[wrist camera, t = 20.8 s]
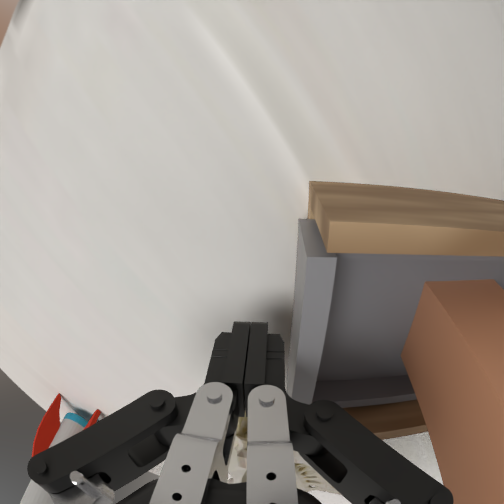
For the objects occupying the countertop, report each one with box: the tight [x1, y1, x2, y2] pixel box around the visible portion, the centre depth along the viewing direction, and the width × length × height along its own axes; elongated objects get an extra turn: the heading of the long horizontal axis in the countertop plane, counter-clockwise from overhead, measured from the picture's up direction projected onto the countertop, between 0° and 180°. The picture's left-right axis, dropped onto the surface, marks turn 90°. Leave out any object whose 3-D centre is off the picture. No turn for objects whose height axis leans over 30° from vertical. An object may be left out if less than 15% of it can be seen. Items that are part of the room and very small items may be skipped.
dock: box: [308, 181, 504, 440], centre depth 13 cm, size 13×14×7 cm
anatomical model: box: [227, 410, 342, 495], centre depth 22 cm, size 15×9×25 cm
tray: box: [287, 219, 504, 408], centre depth 13 cm, size 10×13×4 cm
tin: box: [400, 279, 504, 504], centre depth 8 cm, size 5×5×13 cm
